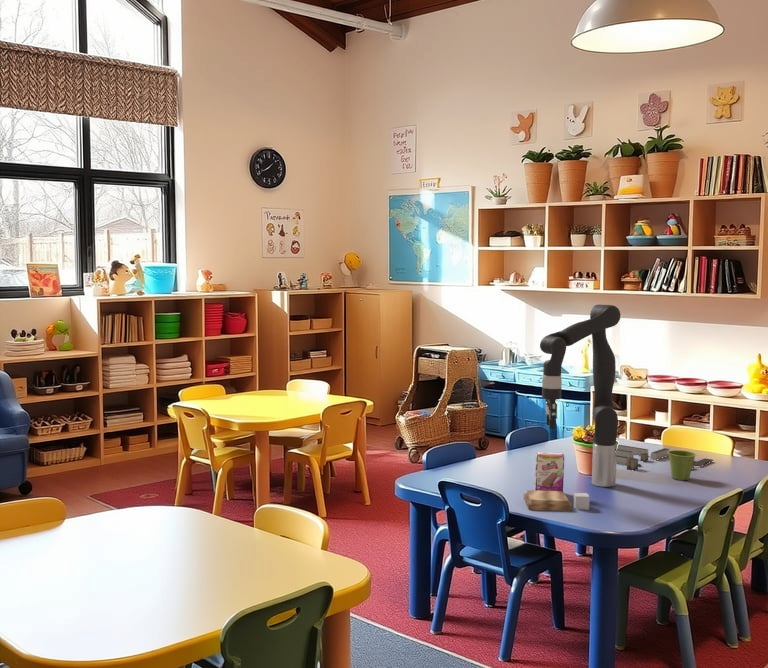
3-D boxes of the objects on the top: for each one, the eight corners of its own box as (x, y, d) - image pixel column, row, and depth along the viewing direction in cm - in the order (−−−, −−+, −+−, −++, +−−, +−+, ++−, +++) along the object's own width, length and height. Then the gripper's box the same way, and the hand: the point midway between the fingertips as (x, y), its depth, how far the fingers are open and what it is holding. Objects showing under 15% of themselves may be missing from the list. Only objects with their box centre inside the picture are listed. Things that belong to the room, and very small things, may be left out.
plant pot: (670, 481, 377) (672, 455, 376) (663, 475, 389) (664, 449, 388) (699, 482, 376) (700, 456, 376) (690, 475, 388) (691, 450, 387)
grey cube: (586, 505, 338) (587, 493, 338) (589, 509, 333) (589, 496, 333) (573, 505, 338) (573, 492, 338) (575, 509, 333) (576, 496, 333)
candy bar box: (535, 494, 353) (536, 454, 352) (534, 491, 358) (535, 451, 357) (563, 495, 352) (564, 455, 351) (562, 492, 357) (563, 452, 356)
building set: (581, 462, 414) (581, 451, 414) (624, 448, 446) (625, 438, 445) (673, 478, 384) (673, 467, 383) (713, 463, 415) (713, 452, 415)
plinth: (564, 499, 347) (564, 490, 347) (571, 510, 331) (571, 501, 331) (523, 498, 348) (523, 489, 347) (528, 509, 332) (528, 500, 331)
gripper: (564, 389, 344) (563, 430, 346) (558, 384, 358) (557, 423, 360) (544, 389, 345) (543, 430, 346) (539, 384, 359) (538, 423, 360)
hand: (550, 426), depth 353 cm, fingers open, 8 cm apart
